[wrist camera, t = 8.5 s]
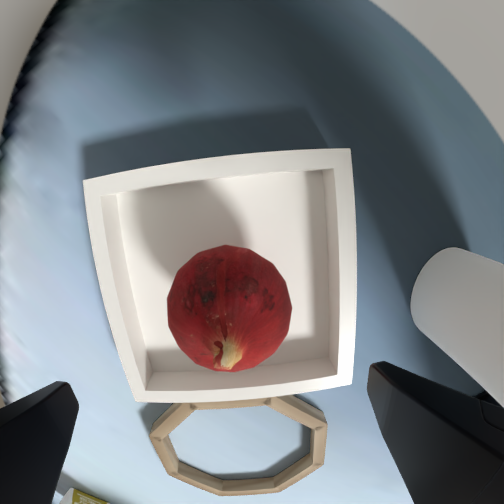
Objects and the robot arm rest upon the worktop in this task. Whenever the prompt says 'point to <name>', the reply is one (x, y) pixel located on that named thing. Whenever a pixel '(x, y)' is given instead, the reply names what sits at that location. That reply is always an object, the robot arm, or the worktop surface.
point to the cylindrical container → (464, 313)
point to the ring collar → (275, 484)
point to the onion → (228, 308)
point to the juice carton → (80, 498)
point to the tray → (235, 234)
